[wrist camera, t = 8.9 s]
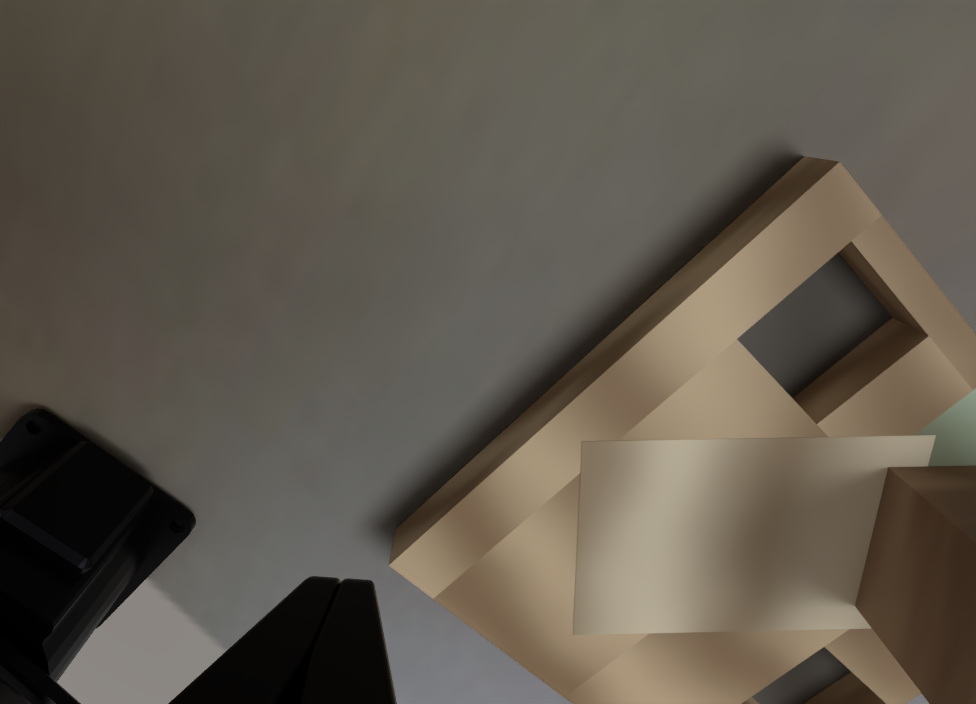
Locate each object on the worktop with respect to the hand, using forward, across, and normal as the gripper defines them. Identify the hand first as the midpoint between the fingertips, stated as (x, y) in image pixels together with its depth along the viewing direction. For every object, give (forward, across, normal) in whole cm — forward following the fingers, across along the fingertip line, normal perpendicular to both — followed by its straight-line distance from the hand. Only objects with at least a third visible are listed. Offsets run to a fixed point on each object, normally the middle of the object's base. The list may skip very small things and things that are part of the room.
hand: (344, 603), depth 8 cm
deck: (+13, -12, +8) cm, 19 cm away
